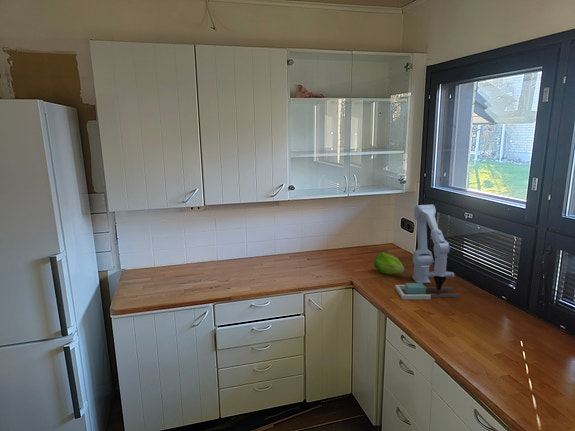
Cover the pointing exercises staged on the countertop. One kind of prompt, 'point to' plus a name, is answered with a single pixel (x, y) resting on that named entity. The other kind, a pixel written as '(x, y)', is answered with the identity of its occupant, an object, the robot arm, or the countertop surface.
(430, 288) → the parallel guide rails
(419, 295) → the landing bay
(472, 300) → the countertop surface
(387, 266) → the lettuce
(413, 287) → the teal block
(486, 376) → the countertop surface
